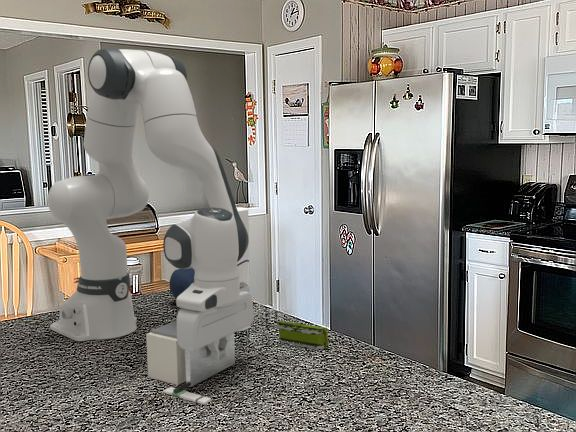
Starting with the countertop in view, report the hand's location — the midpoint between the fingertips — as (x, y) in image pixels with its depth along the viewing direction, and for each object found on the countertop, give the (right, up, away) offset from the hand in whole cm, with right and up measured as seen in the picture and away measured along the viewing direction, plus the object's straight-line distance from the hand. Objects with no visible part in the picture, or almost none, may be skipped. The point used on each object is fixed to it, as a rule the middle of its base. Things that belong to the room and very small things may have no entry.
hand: (219, 358), depth 123 cm
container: (0, 0, +33) cm, 33 cm away
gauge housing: (-4, -4, +1) cm, 6 cm away
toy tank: (+15, -1, +22) cm, 27 cm away
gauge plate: (-7, -4, +3) cm, 8 cm away
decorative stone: (-14, +3, +54) cm, 56 cm away
